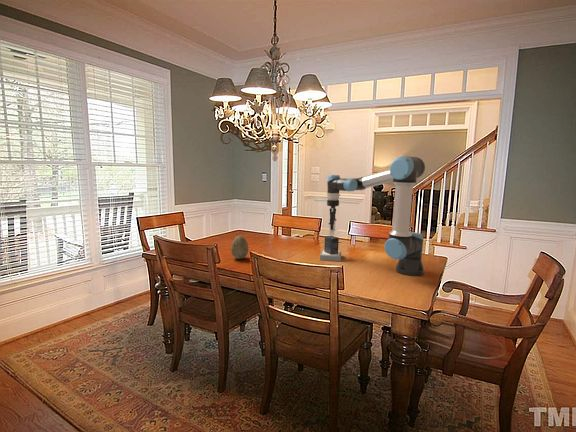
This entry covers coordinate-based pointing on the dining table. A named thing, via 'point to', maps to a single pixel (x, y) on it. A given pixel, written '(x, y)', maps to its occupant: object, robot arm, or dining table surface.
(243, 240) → the decorative egg
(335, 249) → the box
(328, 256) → the plinth
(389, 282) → the dining table surface
